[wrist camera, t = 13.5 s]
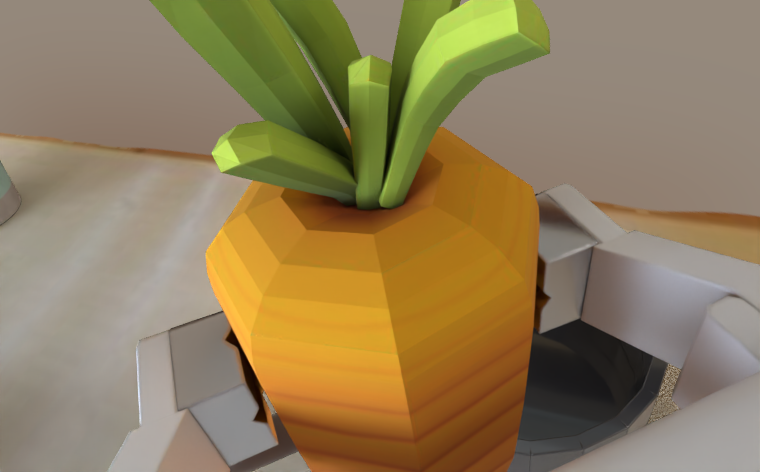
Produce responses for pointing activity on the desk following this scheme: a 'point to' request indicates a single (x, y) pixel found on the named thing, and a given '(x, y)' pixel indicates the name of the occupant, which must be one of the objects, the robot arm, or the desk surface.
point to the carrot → (375, 231)
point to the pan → (582, 395)
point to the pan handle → (269, 450)
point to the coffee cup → (7, 196)
